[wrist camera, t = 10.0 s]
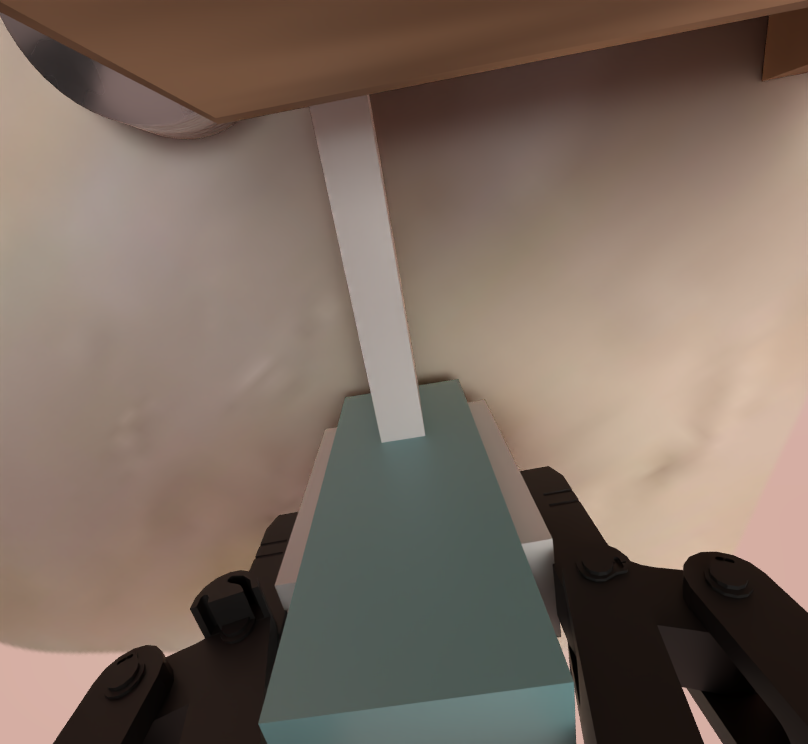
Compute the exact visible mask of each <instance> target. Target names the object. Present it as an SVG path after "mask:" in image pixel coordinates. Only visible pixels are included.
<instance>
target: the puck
mask: <svg viewBox="0 0 808 744" xmlns="http://www.w3.org/2000/svg"><path fill="white" fill-rule="evenodd" d="M0 16H1V18H2V20H3V22H4V24H5V26H6V28H7V30H8V31H9V33H10V35H11V36H12V38H13V39H14V41H15V42H16V44H17V45H18V47H19V48H20V50H21V51H22V52H23V54H24V55H25V56H26V57H27V59H28V60H29V61H30V62H31V64H32V65H33V66H34V67H35V68H36V69H37V70H38V71H39V72H40V73H41V74H42V75H43V77H44V78H45V79H46V80H47V81H49V82H50V83H51V84H52V85H53V86H54V87H56V88H57V89H58V90H59V91H60V92H61V93H63V94H64V95H66V96H67V97H69V98H70V99H71V100H73V101H74V102H76V103H77V104H79V105H81V106H83V107H85V108H86V109H88V110H90V111H92V112H94V113H96V114H99V115H101V116H104V117H106V118H109V119H112V120H115V121H118V122H121V123H124V124H127V125H130V126H133V127H136V128H139V129H142V130H145V131H148V132H151V133H153V134H157V135H161V136H164V137H168V138H176V139H197V138H203V137H208V136H211V135H214V134H217V133H220V132H221V131H223V130H225V129H227V128H229V127H231V126H232V125H233V124H235V123H236V122H237V121H233V122H228V123H223V124H217V123H215V122H213V121H211V120H209V119H207V118H205V117H203V116H201V115H199V114H197V113H196V112H194V111H192V110H190V109H188V108H186V107H184V106H182V105H180V104H178V103H176V102H174V101H172V100H170V99H168V98H166V97H164V96H162V95H160V94H159V93H157V92H155V91H153V90H151V89H149V88H147V87H145V86H143V85H141V84H139V83H137V82H135V81H133V80H131V79H129V78H127V77H125V76H124V75H122V74H120V73H118V72H116V71H114V70H112V69H110V68H108V67H106V66H104V65H102V64H100V63H98V62H96V61H94V60H92V59H90V58H88V57H87V56H85V55H83V54H81V53H79V52H77V51H75V50H73V49H71V48H69V47H67V46H65V45H63V44H61V43H59V42H57V41H55V40H53V39H51V38H50V37H48V36H46V35H44V34H42V33H40V32H38V31H36V30H34V29H32V28H30V27H28V26H26V25H24V24H22V23H20V22H18V21H16V20H15V19H13V18H11V17H9V16H7V15H5V14H3V13H1V12H0ZM238 121H239V120H238Z"/></svg>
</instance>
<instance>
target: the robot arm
mask: <svg viewBox="0 0 808 744" xmlns="http://www.w3.org/2000/svg"><path fill="white" fill-rule="evenodd" d="M468 405H469V408H470V411H471V413H472V416H473V418H474V421H475V424H476V426H477V429H478V432H479V434H480V437H481V439H482V442H483V445H484V447H485V450H486V453H487V455H488V458H489V460H490V463H491V466H492V468H493V471H494V474H495V476H496V479H497V481H498V484H499V487H500V489H501V492H502V495H503V497H504V500H505V502H506V505H507V508H508V510H509V513H510V515H511V518H512V521H513V523H514V526H515V529H516V531H517V534H518V536H519V539H520V542H521V544H522V547H523V550H524V552H525V555H526V557H527V560H528V563H529V565H530V568H531V571H532V573H533V576H534V578H535V581H536V584H537V586H538V589H539V592H540V594H541V597H542V599H543V602H544V605H545V607H546V610H547V612H548V615H549V618H550V620H551V623H552V626H553V628H554V631H555V633H556V636H557V637H561V629H560V623H561V625H562V628H563V630H564V633H565V635H566V638H567V640H568V650H569V663H570V673H571V675H572V678H573V681H574V688H575V693H576V699H577V705H578V711H579V716H580V722H581V728H582V733H583V739H584V744H704V742H703V740H702V738H701V735H700V732H699V730H698V727H697V725H696V722H695V720H694V717H693V714H692V712H691V709H690V707H689V704H688V702H687V699H686V697H685V694H684V692H683V689H682V687H685V688H687V689H688V691H689V692H690V694H691V696H692V697H693V699H694V700H695V702H696V703H697V705H698V706H699V708H700V709H701V711H702V712H703V714H704V715H705V717H706V719H707V720H708V722H709V723H710V725H711V726H712V728H713V729H714V731H715V732H716V734H717V735H718V737H719V739H720V740H721V742H722V743H723V744H808V612H806V611H805V610H804V609H803V608H802V607H801V606H800V605H799V604H798V603H796V601H795V600H793V599H792V598H791V597H790V596H789V595H788V594H787V593H786V592H785V591H783V589H782V588H780V587H779V586H778V585H777V584H776V583H775V582H774V581H773V580H772V579H771V578H769V576H767V575H766V574H765V573H764V572H762V571H761V570H760V569H758V568H757V567H756V566H754V565H753V564H751V563H750V562H748V561H745V560H743V559H741V558H738V557H736V556H734V555H730V554H725V553H720V552H700V553H698V554H695V555H693V556H690V557H689V558H688V560H687V561H686V562H685V563H684V566H683V570H676V569H666V568H656V567H649V566H644V565H640V564H637V563H634V562H631V561H630V560H629V559H628V557H627V556H625V555H624V554H623V553H621V552H620V551H619V550H617V549H616V548H613V547H611V546H609V545H608V544H607V543H606V541H605V540H604V538H603V537H602V535H601V534H600V532H599V531H598V529H597V527H596V526H595V524H594V523H593V521H592V520H591V518H590V517H589V515H588V513H587V512H586V510H585V509H584V507H583V506H582V504H581V503H580V502H579V500H578V498H577V496H576V495H575V493H574V492H573V491H572V489H571V487H570V486H569V484H568V482H567V481H566V479H565V478H564V476H563V475H561V474H560V473H558V472H557V471H555V470H554V469H552V468H551V467H549V466H547V467H541V468H536V469H530V470H524V471H519V469H518V467H517V465H516V463H515V461H514V459H513V457H512V455H511V453H510V451H509V448H508V446H507V444H506V442H505V440H504V438H503V436H502V434H501V432H500V430H499V428H498V426H497V424H496V422H495V420H494V418H493V416H492V414H491V411H490V409H489V407H488V405H487V403H486V401H485V399H484V400H479V401H474V402H468ZM336 430H337V427H334V428H329V429H325V431H324V434H323V438H322V441H321V444H320V447H319V450H318V453H317V456H316V459H315V462H314V465H313V468H312V472H311V475H310V478H309V481H308V484H307V487H306V490H305V493H304V496H303V499H302V502H301V505H300V509H299V512H295V513H289V514H283V515H279V516H278V517H277V518H276V519H275V520H274V521H273V522H272V524H271V525H270V526H269V527H268V528H267V529H266V532H265V534H264V537H263V539H262V542H261V547H259V549H258V551H257V554H256V556H255V557H256V559H255V560H254V561H253V564H252V566H251V569H250V571H249V572H248V571H243V570H240V571H235V572H230V573H227V574H225V575H223V576H221V577H219V578H217V579H215V580H214V581H213V582H211V583H210V584H208V585H207V586H206V587H205V588H204V589H203V590H202V591H201V592H200V593H199V594H198V595H197V597H196V598H195V600H194V602H193V604H192V606H191V608H190V610H191V612H192V614H193V616H194V618H195V620H196V621H197V623H198V625H199V627H200V629H201V631H202V633H203V635H204V637H205V639H204V640H202V641H200V642H198V643H196V644H194V645H192V646H190V647H188V648H185V649H183V650H181V651H179V652H177V653H174V654H172V655H170V656H168V657H165V655H164V654H163V652H162V651H161V650H160V649H159V648H158V647H157V646H151V645H145V646H142V647H138V648H135V649H132V650H131V651H129V652H127V653H126V654H124V655H122V656H120V657H119V658H118V659H116V660H115V661H114V662H113V663H112V664H110V665H109V666H108V667H107V668H106V669H105V670H104V671H103V672H102V673H101V675H100V676H99V677H98V678H97V680H96V681H95V682H94V683H93V685H92V686H91V688H90V689H89V691H88V692H87V694H86V695H85V697H84V698H83V700H82V701H81V703H80V704H79V706H78V707H77V709H76V710H75V712H74V713H73V715H72V716H71V718H70V719H69V721H68V722H67V724H66V725H65V727H64V728H63V729H62V731H61V732H60V734H59V735H58V737H57V738H56V740H55V742H54V743H53V744H267V742H266V740H265V738H264V735H263V733H262V731H261V729H260V727H259V725H258V723H259V719H260V715H261V712H262V708H263V704H264V700H265V696H266V693H267V689H268V685H269V681H270V678H271V674H272V670H273V666H274V663H275V659H276V655H277V651H278V648H279V644H280V640H281V636H282V633H283V629H284V625H285V621H286V618H287V614H288V610H289V606H290V603H291V599H292V595H293V591H294V588H295V584H296V580H297V576H298V573H299V569H300V565H301V561H302V558H303V554H304V550H305V546H306V542H307V539H308V535H309V531H310V527H311V524H312V520H313V516H314V512H315V509H316V505H317V501H318V497H319V494H320V490H321V486H322V482H323V479H324V475H325V471H326V467H327V464H328V460H329V456H330V452H331V449H332V445H333V441H334V437H335V434H336Z"/></svg>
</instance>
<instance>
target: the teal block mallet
mask: <svg viewBox="0 0 808 744" xmlns="http://www.w3.org/2000/svg"><path fill="white" fill-rule="evenodd" d="M309 109H310V113H311V118H312V123H313V127H314V132H315V136H316V141H317V146H318V150H319V155H320V160H321V164H322V169H323V174H324V178H325V183H326V187H327V192H328V197H329V201H330V206H331V211H332V215H333V220H334V225H335V229H336V234H337V238H338V243H339V248H340V252H341V257H342V262H343V266H344V271H345V276H346V280H347V285H348V289H349V294H350V299H351V303H352V308H353V313H354V317H355V322H356V327H357V331H358V336H359V340H360V345H361V350H362V354H363V359H364V364H365V368H366V373H367V378H368V382H369V387H370V391H371V393H369V394H363V395H357V396H351V397H345V400H344V403H343V407H342V411H341V415H340V419H339V422H338V426H337V430H336V434H335V437H334V441H333V445H332V449H331V452H330V456H329V460H328V464H327V467H326V471H325V475H324V479H323V482H322V486H321V490H320V494H319V497H318V501H317V505H316V509H315V512H314V516H313V520H312V524H311V527H310V531H309V535H308V539H307V542H306V546H305V550H304V554H303V558H302V561H301V565H300V569H299V573H298V576H297V580H296V584H295V588H294V591H293V595H292V599H291V603H290V606H289V610H288V614H287V618H286V621H285V625H284V629H283V633H282V636H281V640H280V644H279V648H278V651H277V655H276V659H275V663H274V666H273V670H272V674H271V678H270V681H269V685H268V689H267V693H266V696H265V700H264V704H263V708H262V712H261V715H260V719H259V723H258V725H259V727H260V729H261V731H262V733H263V735H264V738H265V740H266V742H267V744H576V729H575V727H576V726H575V698H574V697H575V696H574V681H573V678H572V675H571V673H570V670H569V668H568V665H567V662H566V660H565V657H564V655H563V652H562V649H561V647H560V644H559V641H558V639H557V636H556V633H555V631H554V628H553V626H552V623H551V620H550V618H549V615H548V612H547V610H546V607H545V605H544V602H543V599H542V597H541V594H540V592H539V589H538V586H537V584H536V581H535V578H534V576H533V573H532V571H531V568H530V565H529V563H528V560H527V557H526V555H525V552H524V550H523V547H522V544H521V542H520V539H519V536H518V534H517V531H516V529H515V526H514V523H513V521H512V518H511V515H510V513H509V510H508V508H507V505H506V502H505V500H504V497H503V495H502V492H501V489H500V487H499V484H498V481H497V479H496V476H495V474H494V471H493V468H492V466H491V463H490V460H489V458H488V455H487V453H486V450H485V447H484V445H483V442H482V439H481V437H480V434H479V432H478V429H477V426H476V424H475V421H474V418H473V416H472V413H471V411H470V408H469V405H468V403H467V400H466V398H465V395H464V392H463V390H462V387H461V384H460V382H459V379H455V380H449V381H443V382H437V383H430V384H424V385H418V380H417V374H416V368H415V362H414V356H413V350H412V344H411V338H410V333H409V327H408V321H407V315H406V309H405V303H404V297H403V291H402V285H401V279H400V274H399V268H398V262H397V256H396V250H395V244H394V238H393V232H392V226H391V220H390V215H389V209H388V203H387V197H386V191H385V185H384V179H383V173H382V167H381V162H380V156H379V150H378V144H377V138H376V132H375V126H374V120H373V114H372V108H371V103H370V97H369V95H364V96H359V97H354V98H349V99H344V100H339V101H334V102H329V103H324V104H319V105H314V106H309Z"/></svg>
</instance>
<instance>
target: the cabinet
mask: <svg viewBox="0 0 808 744" xmlns="http://www.w3.org/2000/svg"><path fill="white" fill-rule="evenodd" d="M0 12H1V13H3V14H5V15H7V16H9V17H11V18H13V19H15V20H16V21H18V22H20V23H22V24H24V25H26V26H28V27H30V28H32V29H34V30H36V31H38V32H40V33H42V34H44V35H46V36H48V37H50V38H51V39H53V40H55V41H57V42H59V43H61V44H63V45H65V46H67V47H69V48H71V49H73V50H75V51H77V52H79V53H81V54H83V55H85V56H87V57H88V58H90V59H92V60H94V61H96V62H98V63H100V64H102V65H104V66H106V67H108V68H110V69H112V70H114V71H116V72H118V73H120V74H122V75H124V76H125V77H127V78H129V79H131V80H133V81H135V82H137V83H139V84H141V85H143V86H145V87H147V88H149V89H151V90H153V91H155V92H157V93H159V94H160V95H162V96H164V97H166V98H168V99H170V100H172V101H174V102H176V103H178V104H180V105H182V106H184V107H186V108H188V109H190V110H192V111H194V112H196V113H197V114H199V115H201V116H203V117H205V118H207V119H209V120H211V121H213V122H215V123H217V124H223V123H228V122H233V121H238V120H243V119H248V118H253V117H258V116H264V115H269V114H274V113H279V112H284V111H289V110H294V109H299V108H304V107H309V106H314V105H319V104H324V103H329V102H334V101H339V100H344V99H349V98H354V97H359V96H364V95H369V94H374V93H379V92H384V91H389V90H394V89H399V88H404V87H409V86H415V85H420V84H425V83H430V82H435V81H440V80H445V79H450V78H455V77H460V76H465V75H470V74H475V73H480V72H485V71H490V70H495V69H500V68H505V67H510V66H515V65H520V64H525V63H530V62H535V61H540V60H545V59H550V58H555V57H560V56H565V55H571V54H576V53H581V52H586V51H591V50H596V49H601V48H606V47H611V46H616V45H621V44H626V43H631V42H636V41H641V40H646V39H651V38H656V37H661V36H666V35H671V34H676V33H681V32H686V31H691V30H696V29H701V28H706V27H711V26H716V25H721V24H727V23H732V22H737V21H742V20H747V19H752V18H757V17H762V16H767V15H769V21H768V30H767V39H766V48H765V57H764V66H763V75H762V81H765V80H770V79H776V78H781V77H786V76H791V75H796V74H801V73H807V72H808V0H0Z"/></svg>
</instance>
